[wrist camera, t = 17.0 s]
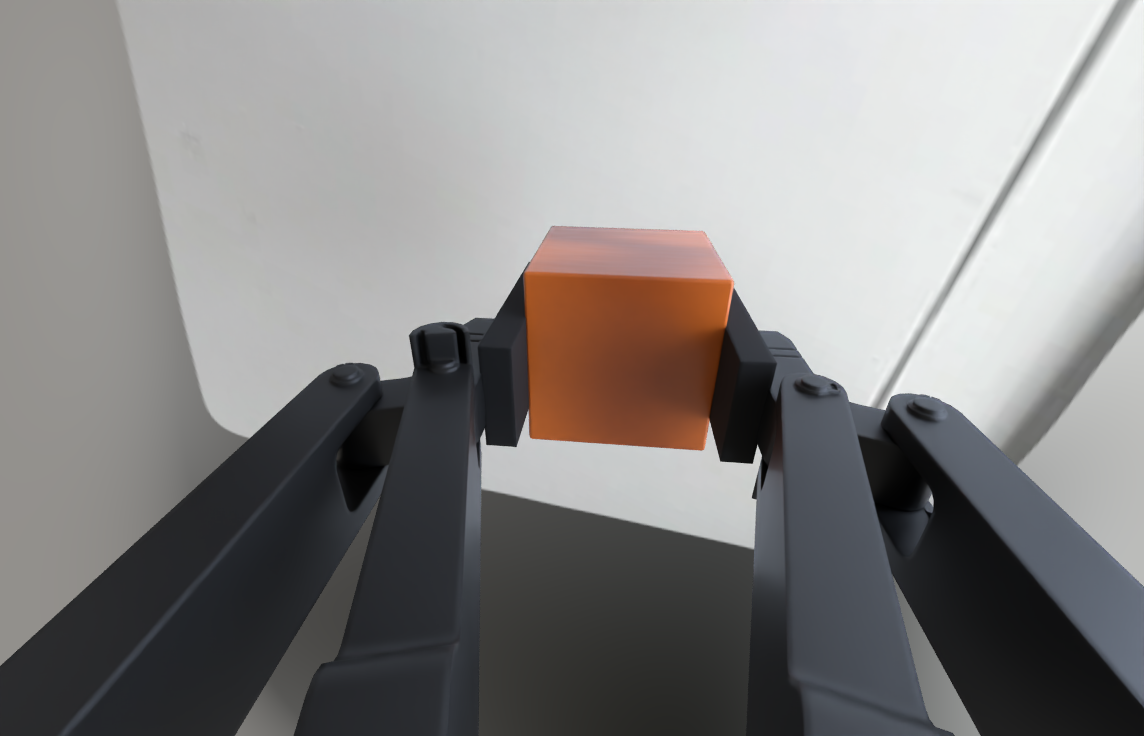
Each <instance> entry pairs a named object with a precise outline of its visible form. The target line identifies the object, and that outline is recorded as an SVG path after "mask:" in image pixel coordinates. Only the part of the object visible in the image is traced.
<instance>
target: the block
mask: <svg viewBox="0 0 1144 736" xmlns="http://www.w3.org/2000/svg"><path fill="white" fill-rule="evenodd" d="M523 277H524V304H525V317H526V335H527V362H528V389H529V435H530V438H532V439H544V440H559V441H573V442H587V443H602V444H616V445H631V446H645V447H659V448H674V449H688V450H704V448H705V443H706V438H707V432H708V427H709V421H710V419H709V417H710V411H711V406H712V400H713V395H714V389H715V383H716V378H717V372H718V367H719V361H720V355H721V350H722V344H723V339H724V333H725V327H726V326H727V321H728V315H729V310H730V304H731V298H732V293H733V287H734V281H733V279H732V277H731V276H730V274H729V272H728V271H727V269H726V267H725V266H724V264H723V262H722V260H721V259H720V257H719V255H718V254H717V252H716V250H715V249H714V247H713V245H712V244H711V242H710V240H709V239H708V237H707V235H706V234H705V232H703V231H683V230H654V229H625V228H595V227H566V226H552V227H551V228H550V230H549V231H548V233H547V235H546V236H545V238H544V240H543V242H542V243H541V245H540V247H539V248H538V250H537V252H536V253H535V255H534V257H533V258H532V260H531V262H530V263H529V265H528V267H527V268H526V270H525V272H524V274H523Z"/></svg>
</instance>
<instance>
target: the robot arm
mask: <svg viewBox="0 0 1144 736" xmlns="http://www.w3.org/2000/svg"><path fill="white" fill-rule="evenodd" d="M529 263H530V262H529ZM529 263H528V264H527V266H526V268H527V267H528V265H529ZM526 268H525V269H524V271H523V273H522V274H521V276H520V278H519V279H518V281H517V283H516V284H515V286H514V288H513V289H512V291H511V292H510V294H509V296H508V297H507V299H506V301H505V302H504V304H503V306H502V307H501V309H500V311H499V312H498V314H497V316H496V317H495V319H489V318H475V319H473V320H471V321H469V322H468V323H466V324H464V325H462V324H458V323H453V322H439V323H431V324H427V325H424V326H420V327H419V328H417V329H415V330H413V331H412V332H411V334H410V335H409V338H410V344H411V350H412V356H413V362H414V372H413V375H412V377H408V378H402V379H393V380H384V381H380V377H379V372H378V370H377V368H376V367H374V366H372V365H370V364H364V363H345V365H344V364H341V365H337V366H336V367H334V368H331V369H329V370H326V371H325V372H323V373H322V374H320V375H319V376H318V377H317V378H315V379H314V380H313V381H312V382H311V383H310V384H309V385H308V386H307V387H306V388H305V389H303V390H302V391H301V392H300V393H299V394H298V395H297V396H296V397H295V398H294V399H292V400H291V401H290V402H289V403H288V404H287V405H286V406H285V407H284V408H283V409H282V410H280V411H279V412H278V413H277V414H276V415H275V416H274V417H273V418H272V419H271V420H269V421H268V422H267V423H266V424H265V425H264V426H263V427H262V428H261V429H260V430H258V431H257V432H256V433H255V434H254V435H253V436H252V437H251V438H250V439H249V440H248V441H247V442H245V443H244V444H243V445H242V446H241V447H240V448H239V449H238V450H237V451H235V452H234V454H232V455H231V456H230V457H229V458H228V459H227V460H226V461H225V462H223V463H222V464H221V465H220V466H219V467H218V468H217V469H216V470H215V471H214V472H212V473H211V474H210V475H209V476H208V477H207V478H206V479H205V480H204V481H203V482H201V484H199V485H198V486H197V487H196V488H195V489H194V490H193V491H192V492H191V493H189V494H188V495H187V496H186V497H185V498H184V499H183V500H182V501H181V502H180V503H178V504H177V505H176V506H175V507H174V508H173V509H172V510H171V511H170V512H169V513H168V514H166V515H165V516H164V517H163V518H162V519H161V520H160V521H159V522H158V523H157V524H156V525H154V527H152V528H151V529H150V530H149V531H148V532H147V533H146V534H145V535H143V536H142V537H141V538H140V539H139V540H138V541H137V542H136V543H135V544H134V545H133V546H131V547H130V548H129V549H128V550H127V551H126V552H125V553H124V554H123V555H121V556H120V557H119V558H118V559H117V560H116V561H115V562H114V563H113V564H112V565H111V566H109V568H107V569H106V570H105V571H104V572H103V573H102V574H101V575H100V576H99V577H97V578H96V579H95V580H94V581H93V582H92V583H91V584H90V585H89V586H88V587H86V588H85V589H84V590H83V591H82V592H81V593H80V594H79V595H78V596H77V597H76V598H74V599H73V600H72V601H71V602H70V603H69V604H68V605H67V606H66V607H64V608H63V609H62V610H61V611H60V612H59V613H58V614H57V615H56V616H55V617H54V618H52V620H50V621H49V622H48V623H47V624H46V625H45V626H44V627H43V628H42V629H40V630H39V631H38V632H37V633H36V634H35V635H34V636H33V637H32V638H31V639H30V640H28V641H27V642H26V643H25V644H24V645H23V646H22V647H21V648H20V649H18V650H17V651H16V652H15V653H14V654H13V655H12V656H11V657H10V658H9V659H7V660H6V661H5V662H4V663H3V664H2V665H1V666H0V736H235V734H236V733H237V731H238V729H239V728H240V726H241V725H242V723H243V721H244V719H245V718H246V716H247V715H248V713H249V711H250V710H251V708H252V706H253V705H254V703H255V701H256V700H257V698H258V697H259V695H260V693H261V691H262V690H263V688H264V686H265V685H266V683H267V682H268V680H269V678H270V677H271V675H272V673H273V672H274V670H275V668H276V667H277V665H278V664H279V662H280V660H281V658H282V657H283V655H284V654H285V652H286V650H287V649H288V647H289V645H290V644H291V642H292V640H293V639H294V637H295V635H296V634H297V632H298V630H299V629H300V627H301V626H302V624H303V622H304V621H305V619H306V617H307V616H308V614H309V612H310V611H311V609H312V607H313V606H314V604H315V603H316V601H317V599H318V598H319V596H320V594H321V593H322V591H323V589H324V587H325V586H326V584H327V582H328V581H329V579H330V578H331V576H332V574H333V573H334V571H335V570H336V568H337V566H338V564H339V563H340V561H341V560H342V558H343V556H344V555H345V553H346V551H347V550H348V548H349V546H350V545H351V543H352V541H353V540H354V538H355V537H356V535H357V533H358V532H359V530H360V528H361V526H362V525H363V523H364V522H365V520H366V518H367V517H368V515H369V513H370V512H371V510H372V508H373V507H374V505H375V504H376V502H377V500H378V499H379V497H380V495H381V497H380V500H379V504H378V508H377V512H376V516H375V519H374V523H373V527H372V531H371V534H370V539H369V542H368V546H367V550H366V554H365V557H364V561H363V565H362V569H361V573H360V576H359V580H358V584H357V587H356V591H355V595H354V599H353V603H352V606H351V610H350V614H349V618H348V622H347V625H346V629H345V633H344V637H343V641H342V644H341V647H340V650H339V653H338V655H337V657H336V658H335V660H334V661H333V662H328V663H323V664H321V666H320V667H319V669H318V670H317V671H316V673H315V674H314V676H313V678H312V681H311V683H310V686H309V689H308V691H307V694H306V697H305V700H304V703H303V707H302V710H301V713H300V717H299V720H298V723H297V727H296V730H295V733H294V736H478V729H479V728H478V726H479V723H478V722H479V638H480V636H479V634H480V633H479V632H480V546H481V542H480V541H481V443H480V437H481V435H482V433H483V431H484V428H485V434H486V445H497V446H511V447H517V443H518V440H519V437H520V434H521V431H522V428H523V425H524V421H525V418H526V415H527V412H528V409H529V389H528V362H527V335H526V317H525V304H524V277H523V274H524V272H525V270H526ZM709 419H710V423H711V427H712V431H713V435H714V439H715V442H716V446H717V450H718V454H719V458H720V461H722V462H736V463H750V464H753V460H754V456H755V452H756V448H757V444H758V447H759V449H760V452H761V454H762V459H761V463H760V467H759V471H758V475H757V479H756V483H755V487H754V491H753V495H752V498H753V499H757V504H756V526H755V549H754V571H753V572H754V573H753V593H752V617H751V638H750V663H749V683H748V705H747V706H748V707H747V728H746V736H954V734H953V733H951V732H948V731H945V730H942V729H940V728H937V727H935V726H934V725H933V723H932V722H931V721H930V719H929V717H928V714H927V711H926V709H925V705H924V701H923V697H922V693H921V689H920V686H919V682H918V677H917V673H916V669H915V665H914V661H913V657H912V653H911V649H910V645H909V641H908V637H907V633H906V629H905V625H904V621H903V617H902V613H901V609H900V605H899V601H898V597H897V593H896V589H895V585H894V581H893V577H892V574H893V576H894V578H895V580H896V582H897V583H898V585H899V587H900V589H901V591H902V593H903V594H904V596H905V598H906V600H907V602H908V604H909V605H910V607H911V609H912V611H913V613H914V614H915V616H916V618H917V620H918V622H919V624H920V626H921V627H922V629H923V631H924V633H925V635H926V636H927V638H928V640H929V642H930V644H931V646H932V647H933V649H934V651H935V653H936V655H937V657H938V658H939V660H940V662H941V664H942V665H943V668H944V669H945V671H946V673H947V675H948V677H949V678H950V680H951V682H952V684H953V686H954V688H955V689H956V691H957V693H958V695H959V697H960V699H961V700H962V702H963V704H964V706H965V708H966V710H967V711H968V713H969V715H970V717H971V719H972V721H973V722H974V724H975V726H976V728H977V730H978V732H979V733H980V735H981V736H1144V587H1143V585H1142V584H1140V583H1139V582H1138V581H1137V580H1136V579H1135V578H1134V577H1133V576H1132V575H1131V574H1130V573H1129V572H1128V571H1127V570H1126V569H1125V568H1124V567H1123V566H1122V565H1120V564H1119V563H1118V562H1117V561H1116V560H1115V559H1114V558H1113V557H1112V556H1111V555H1110V554H1109V553H1108V552H1107V551H1106V550H1105V549H1104V548H1103V547H1102V546H1101V545H1099V544H1098V543H1097V542H1096V541H1095V540H1094V539H1093V538H1092V537H1091V536H1090V535H1089V534H1088V533H1087V532H1086V531H1085V530H1084V529H1083V528H1082V527H1081V526H1080V525H1078V524H1077V523H1076V522H1075V521H1074V520H1073V519H1072V518H1071V517H1070V516H1069V515H1068V514H1067V513H1066V512H1065V511H1064V510H1063V509H1062V508H1061V507H1059V506H1058V505H1057V504H1056V503H1055V502H1054V501H1053V500H1052V499H1051V498H1050V497H1049V496H1048V495H1047V494H1046V493H1045V492H1044V491H1043V490H1042V489H1041V488H1040V487H1039V486H1037V485H1036V484H1035V483H1034V482H1033V481H1032V480H1031V479H1030V478H1029V477H1028V476H1027V475H1026V474H1025V473H1024V472H1022V470H1021V469H1020V468H1018V466H1016V465H1015V464H1014V463H1013V462H1012V461H1011V460H1010V459H1009V458H1008V457H1007V456H1006V455H1005V454H1004V453H1003V452H1002V451H1001V450H1000V449H999V448H998V447H997V446H995V445H994V444H993V443H992V442H991V441H990V440H989V439H988V438H987V437H986V436H985V435H984V434H983V433H982V432H981V431H980V430H979V429H978V428H977V427H975V426H974V425H973V424H972V423H971V422H970V421H969V420H968V419H967V418H966V417H965V416H964V415H963V414H962V413H961V412H959V411H958V410H956V409H955V408H954V407H952V406H951V405H948V404H946V403H944V402H942V401H941V400H939V399H937V398H934V397H931V398H930V396H927V395H922V394H921V395H917V394H898V395H895V396H892V397H891V399H890V401H889V403H888V406H887V408H886V411H885V410H881V409H876V408H872V407H867V406H863V405H858V404H855V403H851V402H849V400H848V396H847V393H846V391H845V390H844V388H843V387H842V386H841V385H839V384H838V383H837V382H835V381H833V380H831V379H829V378H826V377H824V376H820V375H816V374H814V373H813V372H812V371H811V369H810V368H809V366H808V365H807V363H806V362H805V360H804V359H803V358H802V356H801V354H800V353H799V352H798V351H797V349H796V347H795V346H794V344H793V343H792V341H791V340H790V339H788V338H787V337H785V336H784V335H782V334H780V333H779V332H776V331H758V329H757V327H756V326H755V324H754V322H753V320H752V319H751V317H750V315H749V313H748V312H747V310H746V308H745V306H744V305H743V303H742V301H741V299H740V298H739V296H738V294H737V292H736V291H735V289H734V287H733V293H732V298H731V304H730V310H729V315H728V321H727V326H726V327H725V333H724V339H723V344H722V350H721V355H720V361H719V367H718V372H717V378H716V383H715V389H714V395H713V400H712V406H711V411H710V417H709ZM931 494H932V495H933V499H934V508H933V506H932V505H931V503H930V502H929V501H928V500H929V498H930V496H931Z"/></svg>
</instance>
